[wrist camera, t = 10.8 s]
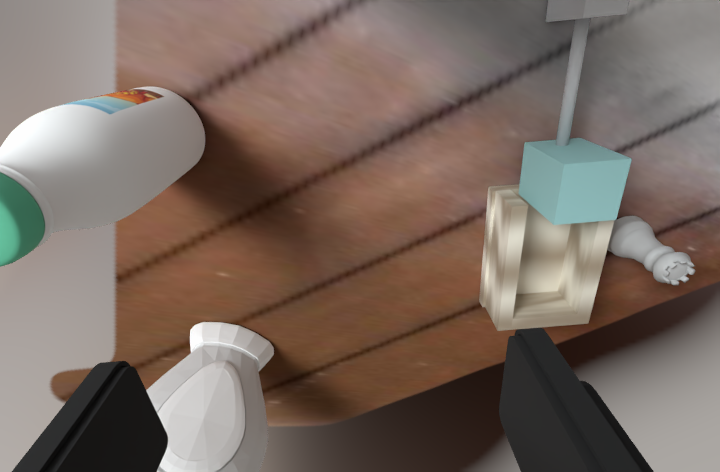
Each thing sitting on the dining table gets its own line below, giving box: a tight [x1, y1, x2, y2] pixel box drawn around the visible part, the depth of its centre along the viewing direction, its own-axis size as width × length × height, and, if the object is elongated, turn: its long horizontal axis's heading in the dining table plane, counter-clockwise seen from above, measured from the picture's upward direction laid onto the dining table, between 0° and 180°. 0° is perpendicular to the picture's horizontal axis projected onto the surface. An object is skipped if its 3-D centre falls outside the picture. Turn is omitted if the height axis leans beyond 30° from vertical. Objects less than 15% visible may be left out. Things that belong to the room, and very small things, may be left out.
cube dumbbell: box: [519, 0, 632, 225], centre depth 30 cm, size 18×5×8 cm, turn 4°
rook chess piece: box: [607, 216, 695, 285], centre depth 37 cm, size 4×4×8 cm
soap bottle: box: [146, 322, 274, 472], centre depth 35 cm, size 13×8×24 cm, turn 66°
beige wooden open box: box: [479, 184, 614, 331], centre depth 38 cm, size 14×10×5 cm
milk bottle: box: [0, 87, 205, 266], centre depth 25 cm, size 8×8×20 cm
